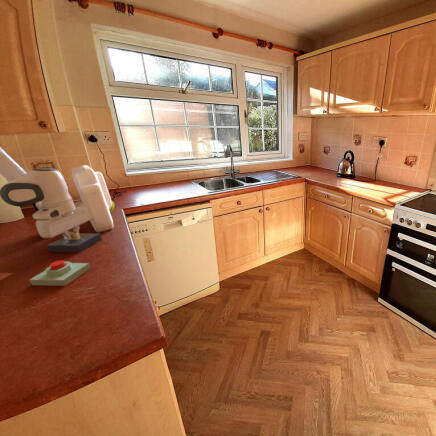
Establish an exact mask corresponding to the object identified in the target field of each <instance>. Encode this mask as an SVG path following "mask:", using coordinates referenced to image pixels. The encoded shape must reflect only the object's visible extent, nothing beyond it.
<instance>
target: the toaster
mask: <svg viewBox="0 0 436 436" xmlns="http://www.w3.org/2000/svg"><path fill="white" fill-rule="evenodd" d="M70 172H71V177H72V180H73V183H74V186H75V188H76V191H77V193H78V196H79V199H80V201H81V203H82V202H84V203H85V205H86V207H87V208H88V210H89V212H90V214H91V216H92V218H91V220H89V222H90V224H91V226H92V229H94V231H95V232H96V233H102V232H105V231H109V230H113V229H114V220H113V217H112V215H111V214H112V213H111V214H110V211H109V208H111V206H112V202H111V201H112V199H111V195H110V192H109V189H108V186H107V183H106V181H105V177H104V176H103V175H104V174H103V173H102V171H94V170H93V169H92V168H91V167H90V165H89V166H88V165H87V164H85V165H80V166H78V167H77V166H76V167H72V168H71V171H70Z"/></svg>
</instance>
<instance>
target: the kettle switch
mask: <svg viewBox="0 0 436 436" xmlns="http://www.w3.org/2000/svg"><path fill="white" fill-rule="evenodd" d="M64 262H65V260H61V259H60V260H56V261H53V262H52V263H50V264H49V267H51V269H52V270H57V269H60V268H63V267H64V266H66V265H65V263H64Z"/></svg>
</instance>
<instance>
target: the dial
mask: <svg viewBox="0 0 436 436" xmlns="http://www.w3.org/2000/svg"><path fill="white" fill-rule="evenodd" d="M68 232H69V233H68V234H69V235H73V237H74V239H72V240H79V239H81V237H80V235H79V234H80V231H79V232H73V231H68Z"/></svg>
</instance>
